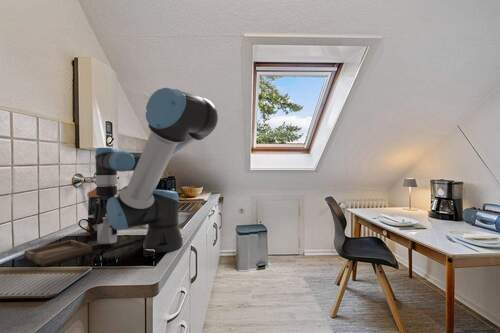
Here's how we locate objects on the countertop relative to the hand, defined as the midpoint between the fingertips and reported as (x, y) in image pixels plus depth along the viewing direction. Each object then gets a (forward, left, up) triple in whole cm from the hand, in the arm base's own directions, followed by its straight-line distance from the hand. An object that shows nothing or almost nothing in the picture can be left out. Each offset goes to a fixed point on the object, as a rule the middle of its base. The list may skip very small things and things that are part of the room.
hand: (107, 241), depth 101 cm
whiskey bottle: (+22, -10, -2) cm, 24 cm away
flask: (0, 0, 0) cm, 0 cm away
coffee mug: (+15, -4, -2) cm, 16 cm away
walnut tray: (+4, +15, -2) cm, 16 cm away
